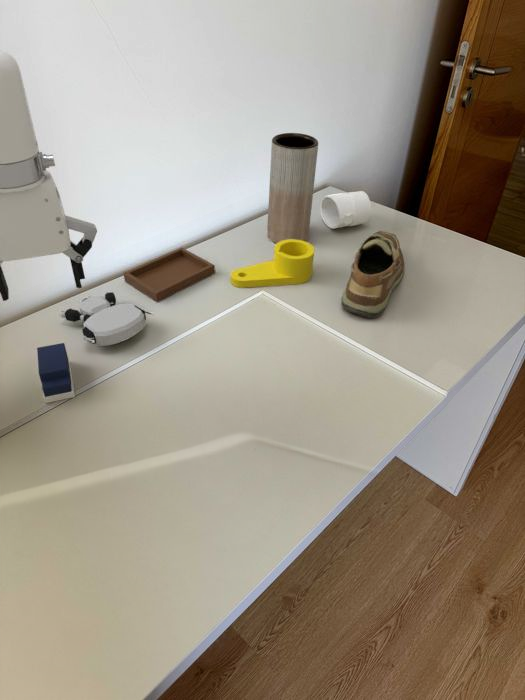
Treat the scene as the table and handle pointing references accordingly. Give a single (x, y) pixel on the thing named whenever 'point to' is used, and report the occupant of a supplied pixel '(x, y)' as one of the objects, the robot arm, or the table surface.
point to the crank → (279, 267)
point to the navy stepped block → (55, 373)
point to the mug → (345, 209)
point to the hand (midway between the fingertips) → (42, 289)
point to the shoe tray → (169, 274)
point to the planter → (291, 186)
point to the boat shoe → (374, 275)
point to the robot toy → (107, 319)
